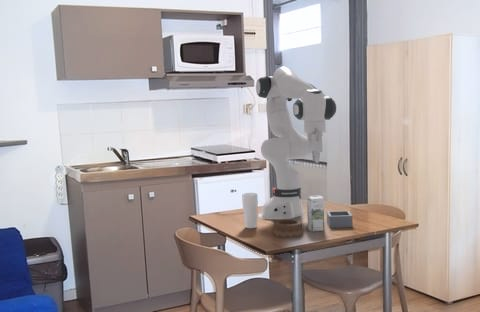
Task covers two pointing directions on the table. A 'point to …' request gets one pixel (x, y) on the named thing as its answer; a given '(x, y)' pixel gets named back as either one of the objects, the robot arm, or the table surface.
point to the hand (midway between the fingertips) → (315, 161)
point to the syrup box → (315, 213)
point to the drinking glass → (250, 209)
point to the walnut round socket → (288, 228)
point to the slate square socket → (339, 219)
